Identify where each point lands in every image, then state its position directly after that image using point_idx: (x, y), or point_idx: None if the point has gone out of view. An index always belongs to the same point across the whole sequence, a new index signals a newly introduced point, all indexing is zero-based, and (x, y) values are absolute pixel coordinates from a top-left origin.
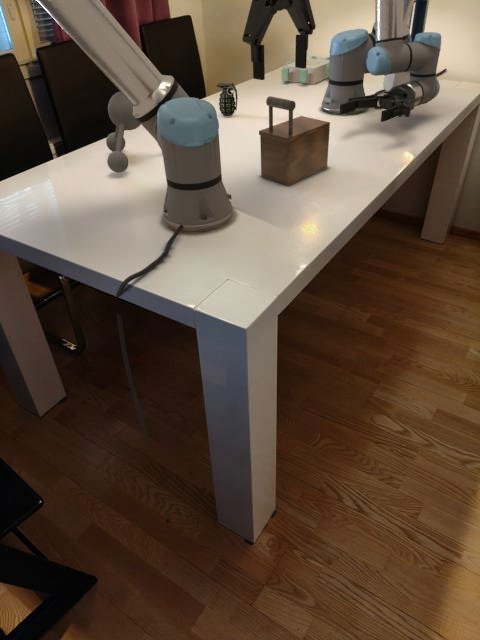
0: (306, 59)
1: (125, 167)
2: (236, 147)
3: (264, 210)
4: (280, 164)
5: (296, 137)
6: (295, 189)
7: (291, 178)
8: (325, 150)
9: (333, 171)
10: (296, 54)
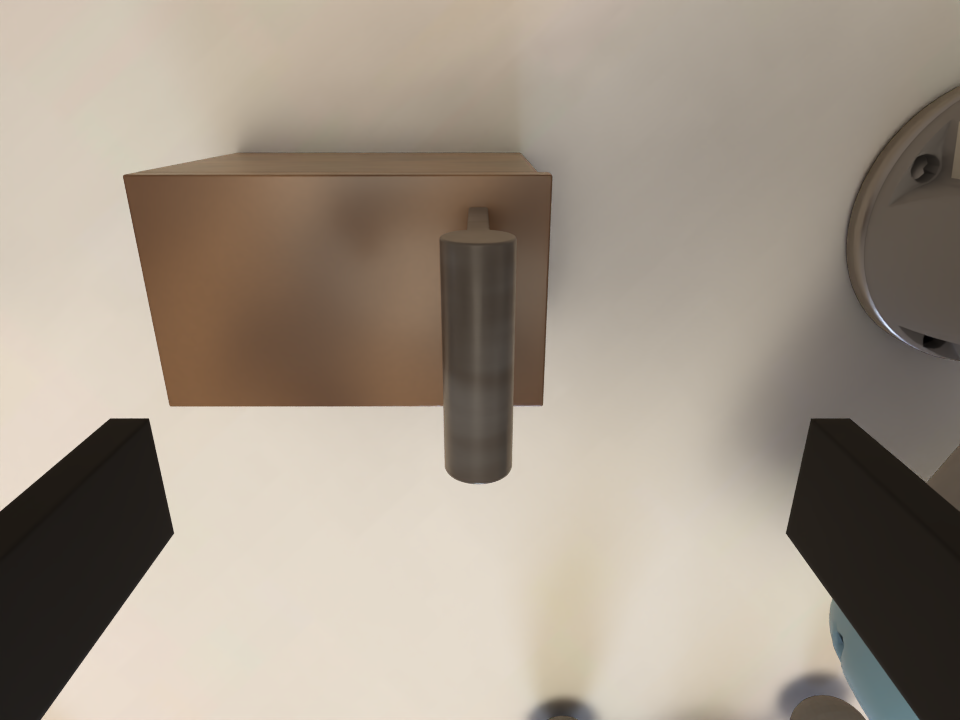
0: (56, 464)
1: (824, 700)
2: (350, 605)
3: (795, 45)
4: None
5: (466, 173)
6: (531, 96)
7: (500, 154)
8: (223, 160)
9: (243, 99)
10: (100, 615)
